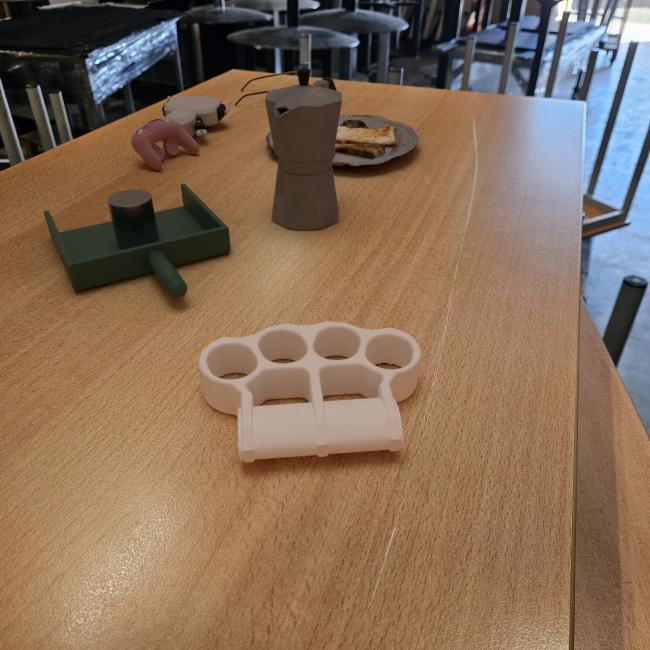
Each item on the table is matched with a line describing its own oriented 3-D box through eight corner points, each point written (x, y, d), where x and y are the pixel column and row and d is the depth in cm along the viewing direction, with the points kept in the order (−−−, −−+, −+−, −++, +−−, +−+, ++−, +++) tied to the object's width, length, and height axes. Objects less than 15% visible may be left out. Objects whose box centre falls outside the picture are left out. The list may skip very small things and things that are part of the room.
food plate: (244, 163, 90) (242, 140, 88) (297, 121, 108) (296, 102, 106) (399, 184, 84) (401, 160, 82) (428, 136, 101) (431, 116, 99)
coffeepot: (318, 244, 68) (318, 85, 58) (249, 229, 71) (237, 76, 61) (362, 196, 80) (369, 56, 69) (301, 185, 83) (299, 50, 72)
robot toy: (209, 152, 96) (235, 119, 108) (206, 125, 93) (232, 94, 105) (141, 147, 98) (173, 115, 109) (135, 120, 95) (169, 91, 106)
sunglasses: (307, 108, 115) (305, 82, 112) (234, 113, 116) (230, 87, 113) (308, 90, 127) (306, 66, 124) (242, 95, 127) (238, 71, 125)
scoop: (51, 237, 69) (43, 211, 67) (188, 208, 76) (184, 183, 74) (94, 335, 53) (85, 304, 51) (261, 287, 60) (259, 257, 58)
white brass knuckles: (194, 476, 40) (207, 348, 52) (444, 457, 42) (401, 336, 54) (188, 443, 38) (202, 317, 50) (451, 424, 40) (404, 307, 52)
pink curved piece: (186, 159, 95) (166, 117, 93) (204, 151, 92) (184, 108, 90) (143, 178, 88) (120, 134, 86) (160, 170, 86) (137, 124, 83)
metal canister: (123, 254, 65) (113, 209, 62) (112, 237, 68) (102, 194, 65) (164, 244, 67) (157, 200, 64) (152, 228, 70) (144, 186, 67)
